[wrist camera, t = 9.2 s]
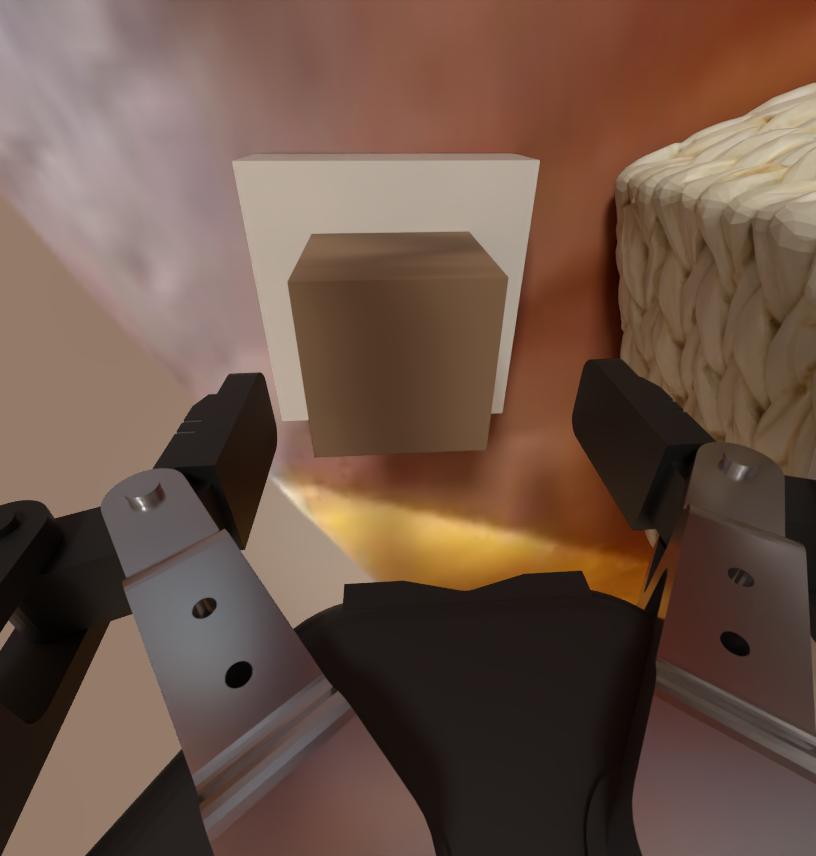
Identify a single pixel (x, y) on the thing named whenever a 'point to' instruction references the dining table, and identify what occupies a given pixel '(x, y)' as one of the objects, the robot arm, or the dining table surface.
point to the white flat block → (377, 227)
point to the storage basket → (728, 279)
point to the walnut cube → (397, 341)
